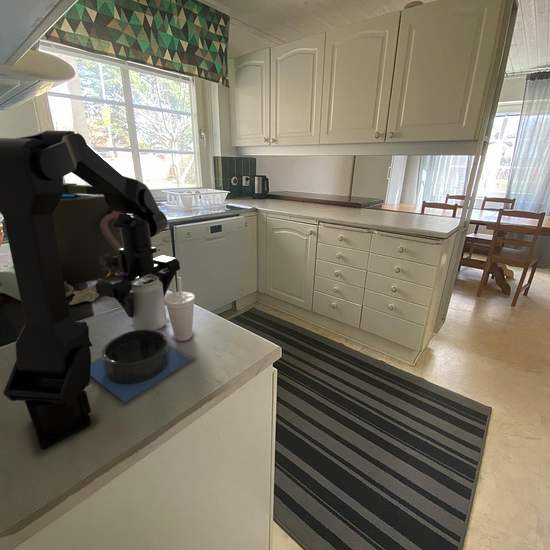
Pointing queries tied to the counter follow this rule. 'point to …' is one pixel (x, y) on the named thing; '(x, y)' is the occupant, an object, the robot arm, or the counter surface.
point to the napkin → (132, 390)
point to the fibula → (68, 287)
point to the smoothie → (181, 312)
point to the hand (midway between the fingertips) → (146, 308)
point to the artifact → (85, 295)
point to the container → (83, 236)
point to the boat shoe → (9, 282)
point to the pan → (135, 356)
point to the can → (148, 304)
